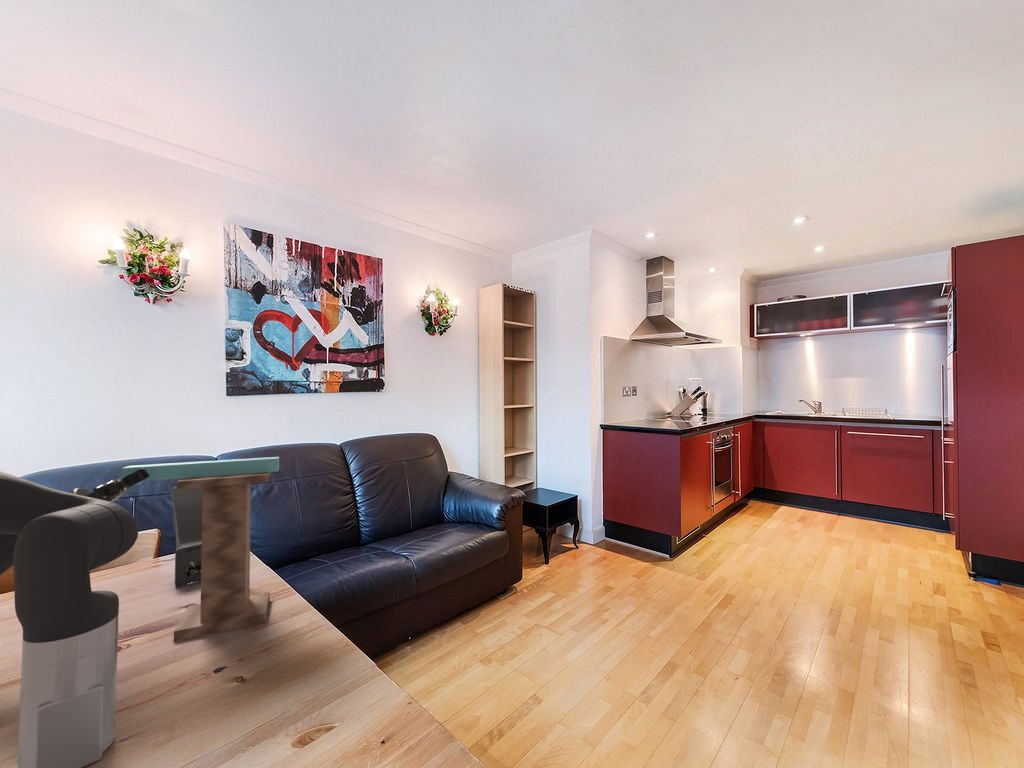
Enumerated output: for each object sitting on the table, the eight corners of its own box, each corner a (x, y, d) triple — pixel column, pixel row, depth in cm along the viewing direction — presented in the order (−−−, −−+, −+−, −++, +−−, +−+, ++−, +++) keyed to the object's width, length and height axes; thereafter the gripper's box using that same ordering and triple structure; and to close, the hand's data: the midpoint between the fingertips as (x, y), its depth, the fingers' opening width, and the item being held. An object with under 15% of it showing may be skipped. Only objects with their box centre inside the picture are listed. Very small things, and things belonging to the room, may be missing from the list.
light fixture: (207, 561, 131) (209, 481, 132) (224, 575, 119) (225, 488, 120) (162, 571, 123) (164, 486, 124) (175, 588, 111) (177, 494, 112)
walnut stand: (173, 641, 86) (177, 481, 87) (188, 615, 96) (191, 473, 98) (265, 622, 93) (266, 474, 94) (269, 600, 103) (270, 467, 105)
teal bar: (121, 483, 86) (121, 468, 87) (128, 479, 90) (129, 465, 90) (278, 471, 99) (278, 458, 99) (279, 469, 102) (279, 456, 102)
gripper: (28, 508, 77) (130, 458, 83) (68, 494, 90) (153, 451, 96) (56, 541, 78) (153, 489, 85) (91, 523, 91) (173, 478, 97)
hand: (153, 469), depth 90 cm, fingers open, 8 cm apart
